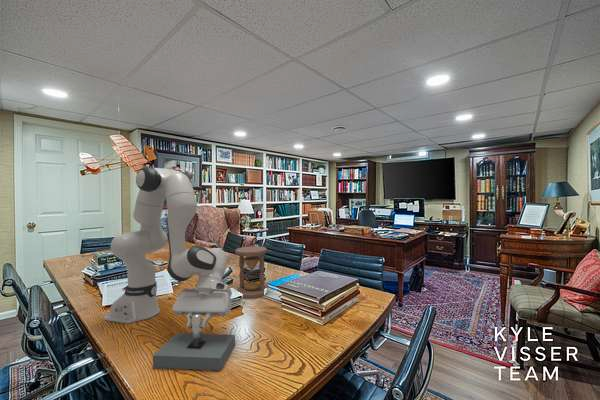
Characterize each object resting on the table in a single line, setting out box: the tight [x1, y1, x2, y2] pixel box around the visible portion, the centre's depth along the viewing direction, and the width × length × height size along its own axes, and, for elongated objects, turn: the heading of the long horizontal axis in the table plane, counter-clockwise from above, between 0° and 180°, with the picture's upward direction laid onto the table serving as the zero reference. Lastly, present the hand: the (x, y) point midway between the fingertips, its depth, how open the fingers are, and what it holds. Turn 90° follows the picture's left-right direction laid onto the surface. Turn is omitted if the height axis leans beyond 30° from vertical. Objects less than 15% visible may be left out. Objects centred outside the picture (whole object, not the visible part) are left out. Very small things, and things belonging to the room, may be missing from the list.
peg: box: [191, 313, 203, 347], centre depth 89 cm, size 3×3×10 cm
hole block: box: [152, 332, 236, 372], centre depth 89 cm, size 22×14×4 cm, turn 85°
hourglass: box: [235, 245, 268, 300], centre depth 149 cm, size 18×18×25 cm
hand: (195, 327), depth 89 cm, fingers closed on peg, 3 cm apart
